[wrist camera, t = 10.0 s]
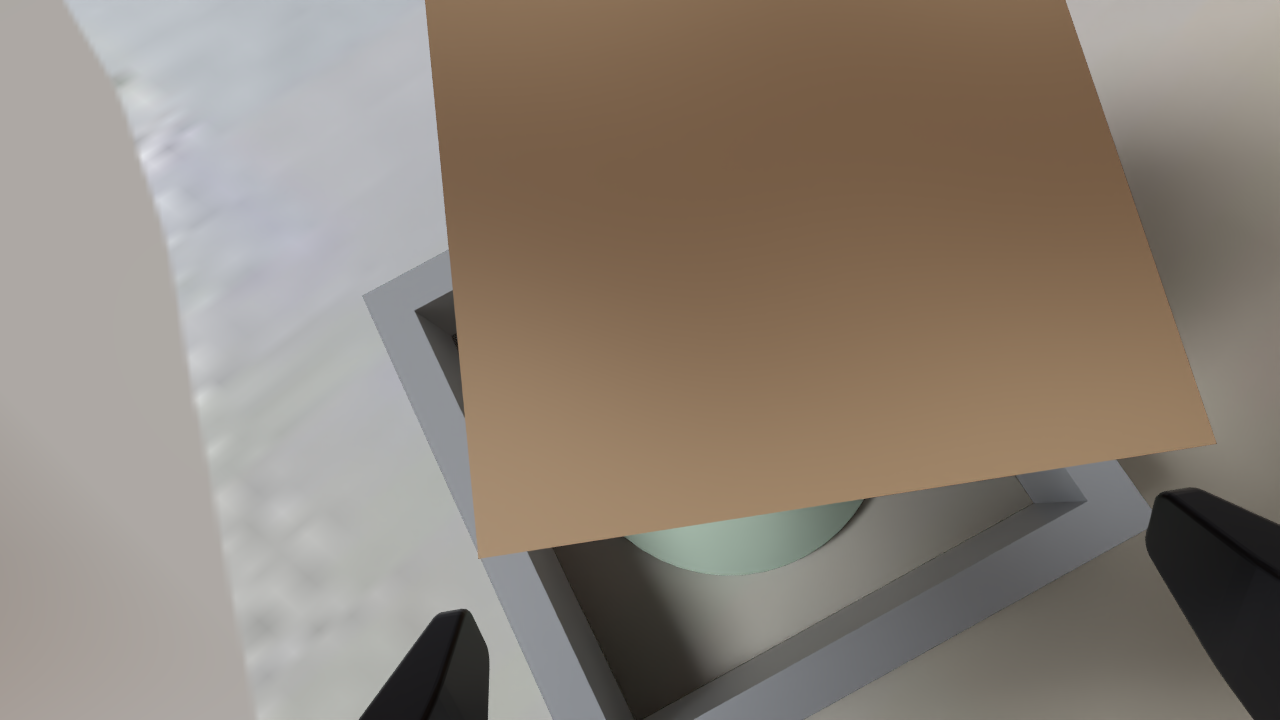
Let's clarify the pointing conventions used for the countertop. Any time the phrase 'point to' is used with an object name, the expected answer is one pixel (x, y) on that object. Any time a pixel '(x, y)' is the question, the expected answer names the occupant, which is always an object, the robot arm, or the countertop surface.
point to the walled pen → (749, 555)
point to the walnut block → (785, 258)
